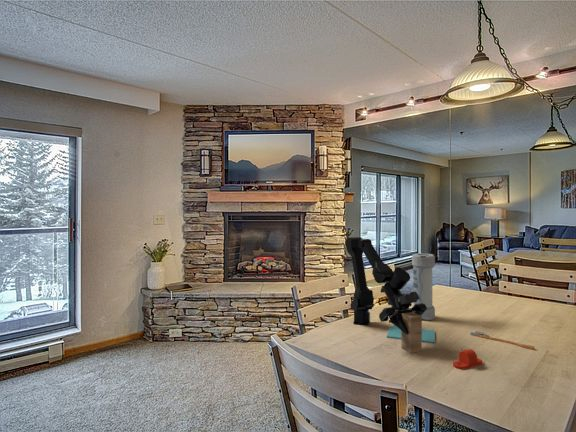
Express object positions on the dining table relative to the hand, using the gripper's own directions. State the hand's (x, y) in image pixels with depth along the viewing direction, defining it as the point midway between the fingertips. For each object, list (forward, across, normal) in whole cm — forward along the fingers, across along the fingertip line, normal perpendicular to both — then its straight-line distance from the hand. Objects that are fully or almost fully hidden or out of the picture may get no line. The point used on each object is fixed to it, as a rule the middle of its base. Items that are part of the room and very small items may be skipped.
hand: (413, 333), depth 130 cm
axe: (+8, +39, +2) cm, 40 cm away
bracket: (+16, +9, -6) cm, 19 cm away
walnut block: (+4, 0, +6) cm, 7 cm away
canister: (-17, +31, +26) cm, 44 cm away
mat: (-5, +10, +15) cm, 19 cm away
